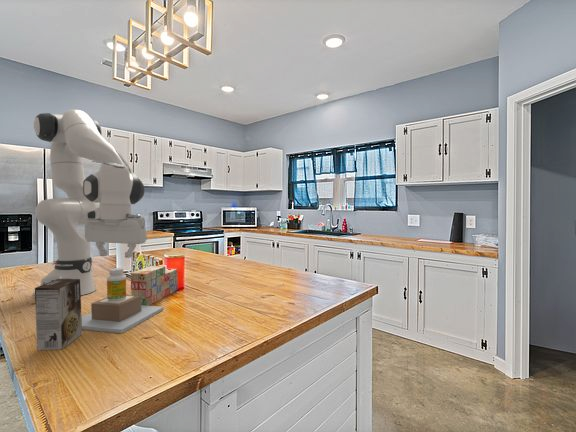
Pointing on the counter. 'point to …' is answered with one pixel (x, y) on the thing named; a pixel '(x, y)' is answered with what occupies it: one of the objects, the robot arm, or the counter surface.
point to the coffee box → (58, 313)
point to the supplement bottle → (116, 285)
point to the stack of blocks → (153, 283)
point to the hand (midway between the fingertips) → (115, 256)
